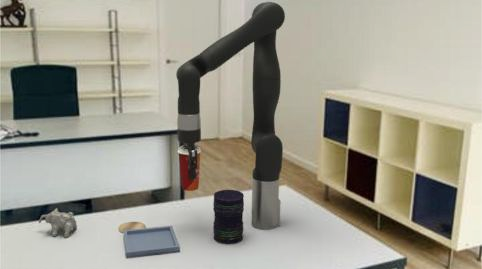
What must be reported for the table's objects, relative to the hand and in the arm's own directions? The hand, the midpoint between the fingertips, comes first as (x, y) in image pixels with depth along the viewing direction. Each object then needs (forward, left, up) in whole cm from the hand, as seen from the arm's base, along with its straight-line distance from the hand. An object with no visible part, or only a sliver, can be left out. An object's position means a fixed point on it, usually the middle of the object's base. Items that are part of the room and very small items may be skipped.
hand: (190, 175), depth 158 cm
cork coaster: (+19, -6, -19) cm, 28 cm away
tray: (+14, +7, -19) cm, 25 cm away
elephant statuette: (+43, -8, -20) cm, 48 cm away
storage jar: (-11, +9, -20) cm, 24 cm away
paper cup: (0, 0, -5) cm, 5 cm away
